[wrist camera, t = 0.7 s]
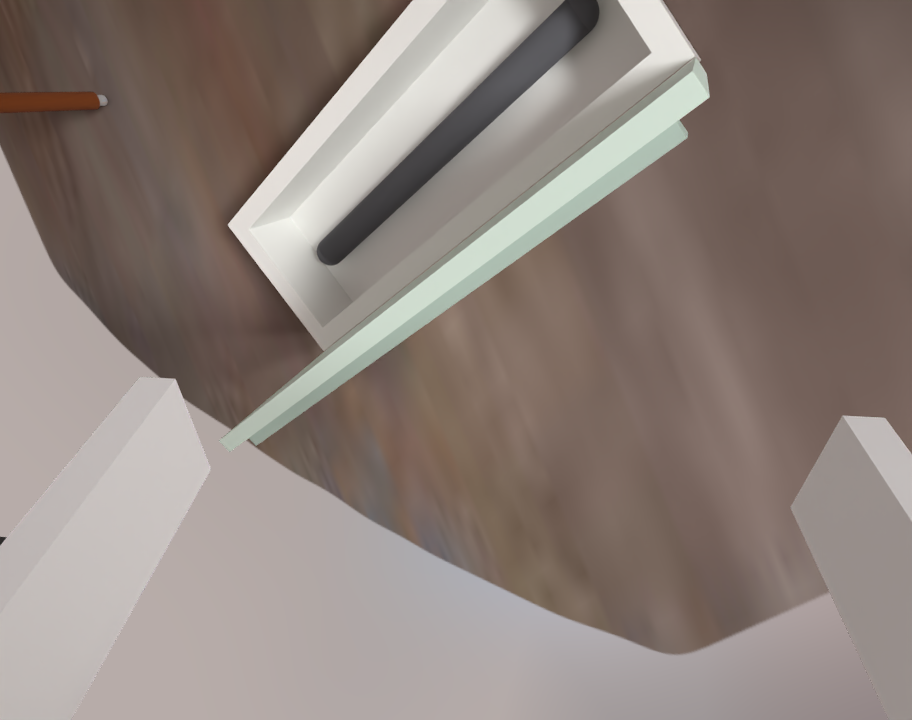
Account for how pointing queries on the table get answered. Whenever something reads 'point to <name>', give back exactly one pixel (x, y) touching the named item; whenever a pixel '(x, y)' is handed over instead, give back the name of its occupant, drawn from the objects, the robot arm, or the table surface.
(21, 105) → the magnifying glass
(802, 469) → the table surface
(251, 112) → the table surface
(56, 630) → the robot arm
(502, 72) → the dark grey rounded rod
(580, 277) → the table surface
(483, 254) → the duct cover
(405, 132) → the cable duct
